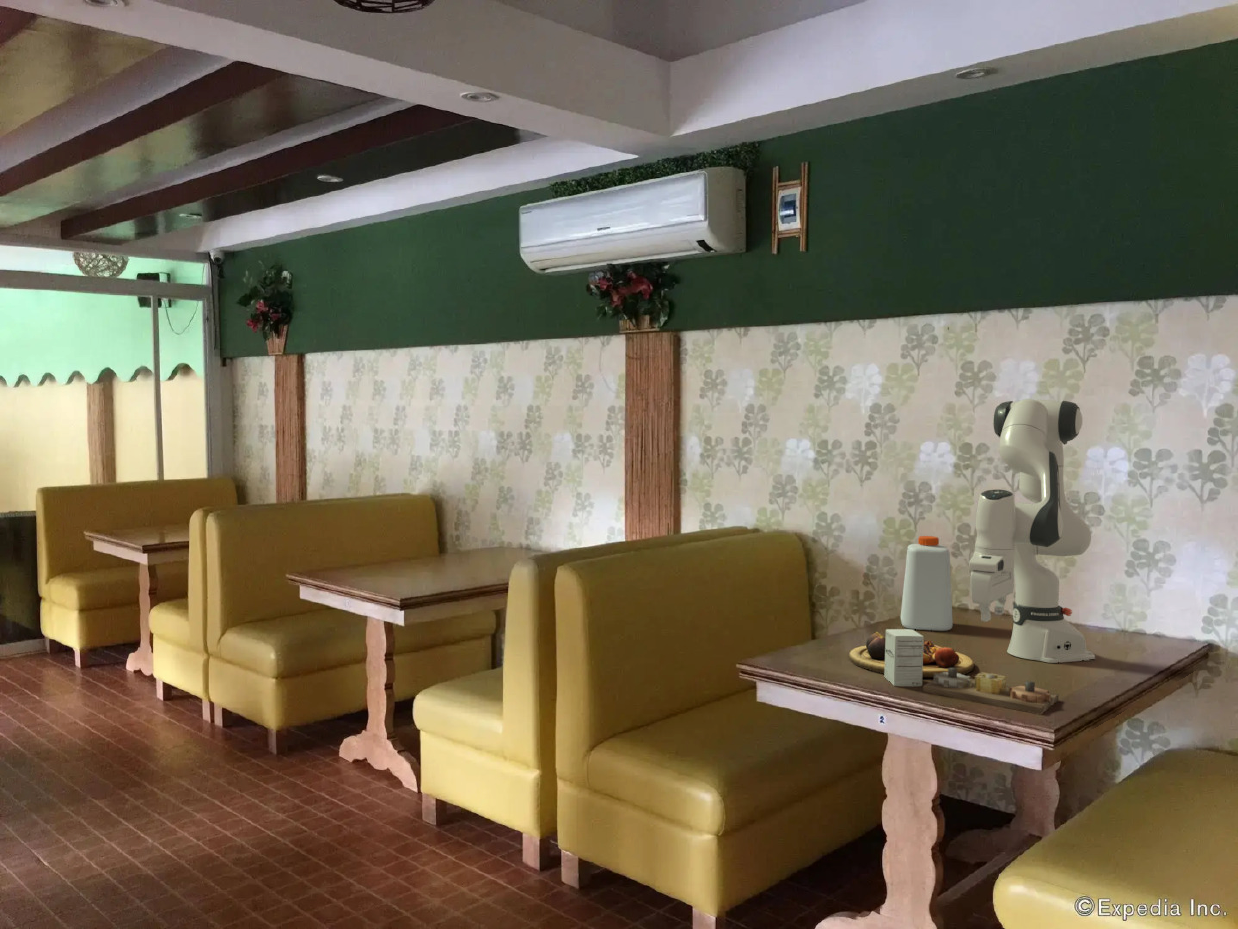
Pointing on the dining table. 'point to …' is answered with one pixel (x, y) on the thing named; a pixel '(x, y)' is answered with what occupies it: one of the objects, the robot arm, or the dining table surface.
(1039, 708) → the gear board
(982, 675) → the brass gear
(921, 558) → the plastic bottle
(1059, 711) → the dining table surface
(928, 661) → the wooden plate with food
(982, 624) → the dining table surface
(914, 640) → the supplement box
